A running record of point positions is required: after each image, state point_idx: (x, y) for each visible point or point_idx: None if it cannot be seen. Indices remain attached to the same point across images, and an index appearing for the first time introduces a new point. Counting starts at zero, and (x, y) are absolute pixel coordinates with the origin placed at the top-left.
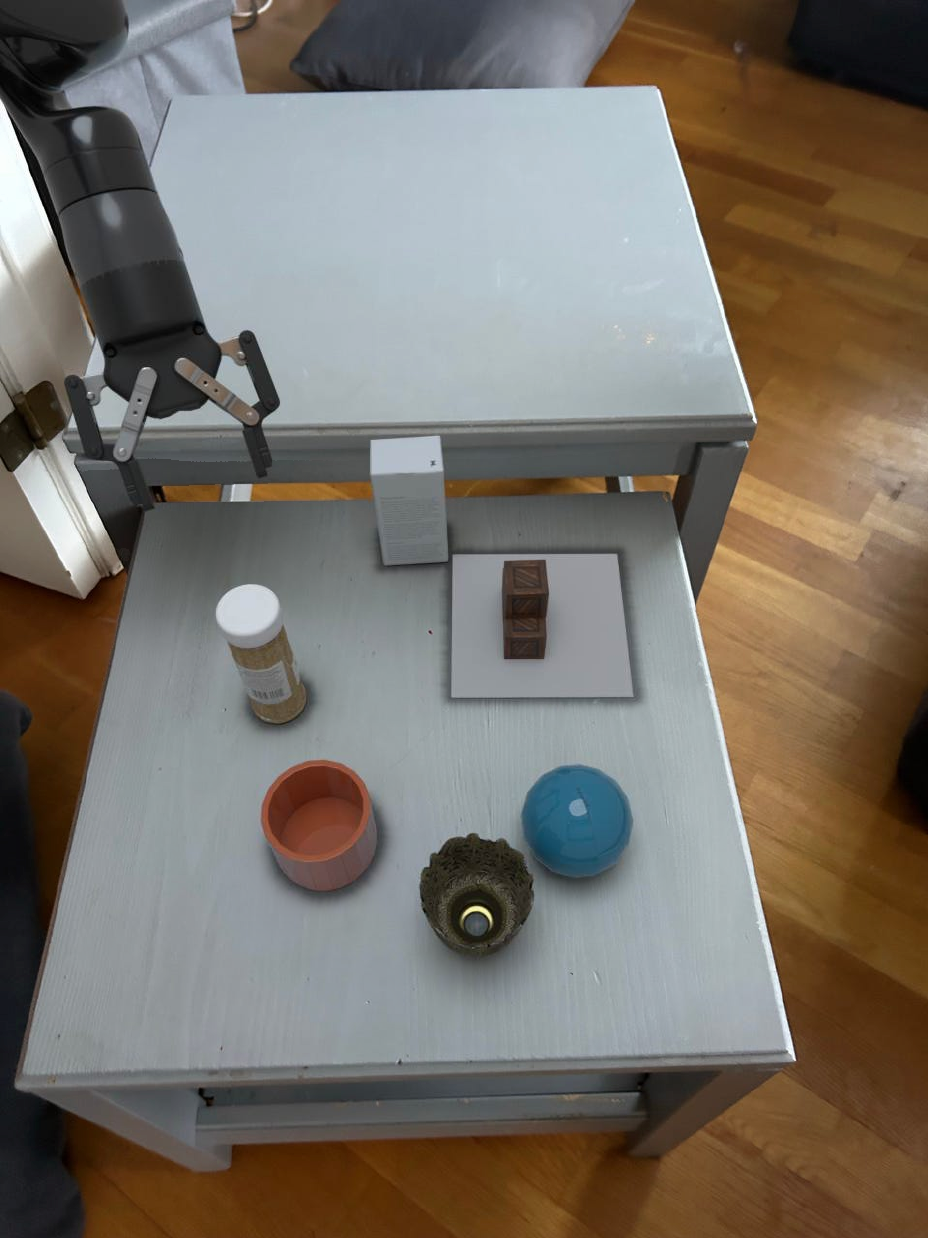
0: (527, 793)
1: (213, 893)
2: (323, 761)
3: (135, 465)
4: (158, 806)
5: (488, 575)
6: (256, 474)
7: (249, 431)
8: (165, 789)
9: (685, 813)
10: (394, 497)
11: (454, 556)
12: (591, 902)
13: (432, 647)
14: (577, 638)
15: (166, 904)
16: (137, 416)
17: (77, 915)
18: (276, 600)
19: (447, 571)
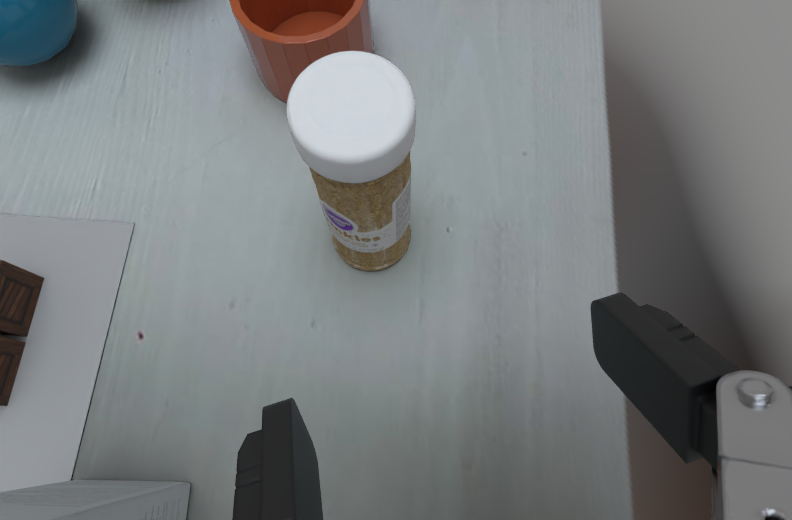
0: (39, 11)
1: (440, 16)
2: (284, 40)
3: (684, 370)
4: (518, 108)
5: (18, 442)
6: (311, 446)
7: (273, 513)
8: (513, 127)
9: None
10: (47, 506)
11: None
12: None
13: (143, 308)
14: None
15: (490, 9)
16: (754, 503)
17: (584, 4)
18: (289, 115)
19: (85, 459)
